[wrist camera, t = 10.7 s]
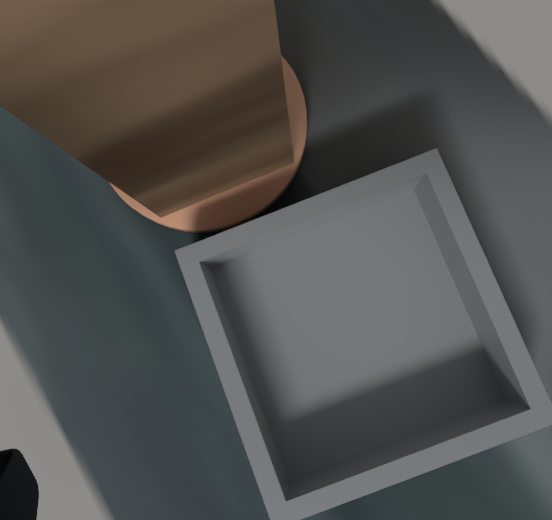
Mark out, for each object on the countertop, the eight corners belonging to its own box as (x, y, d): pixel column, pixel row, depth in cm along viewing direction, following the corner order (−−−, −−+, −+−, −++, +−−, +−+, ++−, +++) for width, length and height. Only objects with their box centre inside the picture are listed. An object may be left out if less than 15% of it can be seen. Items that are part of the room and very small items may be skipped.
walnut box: (294, 162, 18) (224, -400, 4) (160, 217, 18) (-356, -144, 4) (238, 32, 19) (19, -819, 5) (111, 86, 19) (-468, -594, 5)
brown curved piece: (255, 266, 18) (252, 263, 18) (69, 185, 19) (58, 178, 18) (340, 77, 19) (341, 66, 18) (156, 6, 20) (150, -7, 19)
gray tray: (525, 408, 17) (559, 421, 15) (279, 501, 17) (273, 529, 15) (420, 171, 18) (436, 148, 16) (192, 260, 19) (174, 250, 16)
